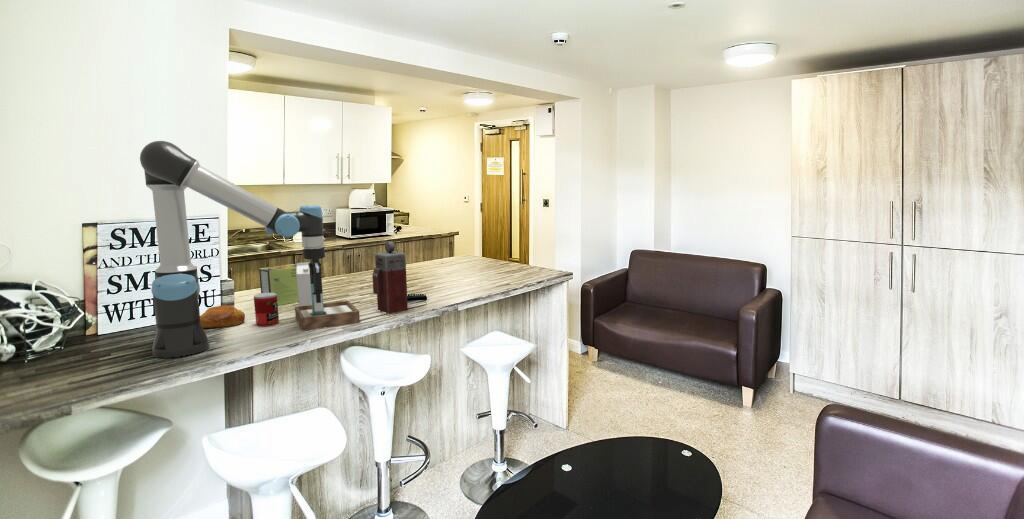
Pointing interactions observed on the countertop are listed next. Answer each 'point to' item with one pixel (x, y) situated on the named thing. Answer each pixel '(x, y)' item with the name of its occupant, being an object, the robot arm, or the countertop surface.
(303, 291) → the milk carton
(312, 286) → the peg
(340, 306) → the box
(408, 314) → the countertop surface
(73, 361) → the countertop surface
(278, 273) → the protein box
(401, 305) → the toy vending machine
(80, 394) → the countertop surface
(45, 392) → the countertop surface
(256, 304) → the canned food
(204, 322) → the croissant
